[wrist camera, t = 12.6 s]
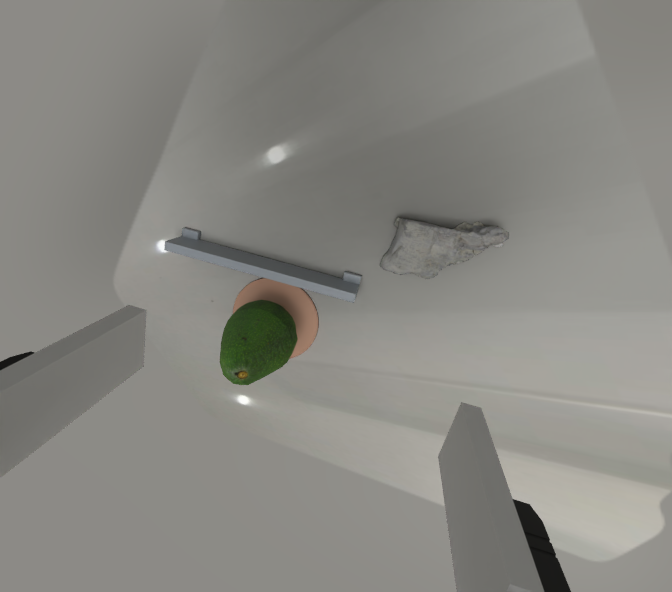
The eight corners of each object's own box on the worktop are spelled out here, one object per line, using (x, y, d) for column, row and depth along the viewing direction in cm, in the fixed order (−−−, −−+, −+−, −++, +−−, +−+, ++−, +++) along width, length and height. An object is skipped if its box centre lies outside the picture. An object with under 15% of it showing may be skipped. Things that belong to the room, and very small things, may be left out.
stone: (489, 280, 41) (500, 291, 37) (380, 271, 42) (379, 281, 38) (500, 221, 39) (513, 227, 35) (385, 214, 40) (384, 219, 36)
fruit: (253, 351, 48) (209, 406, 37) (237, 294, 46) (184, 335, 35) (311, 345, 46) (283, 401, 35) (297, 285, 44) (263, 325, 33)
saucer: (240, 266, 45) (239, 267, 44) (327, 290, 44) (326, 292, 44) (229, 344, 49) (228, 345, 48) (308, 367, 48) (308, 369, 48)
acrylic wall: (185, 227, 44) (165, 232, 41) (361, 275, 43) (358, 285, 39) (183, 250, 45) (164, 258, 42) (355, 298, 44) (351, 310, 40)
